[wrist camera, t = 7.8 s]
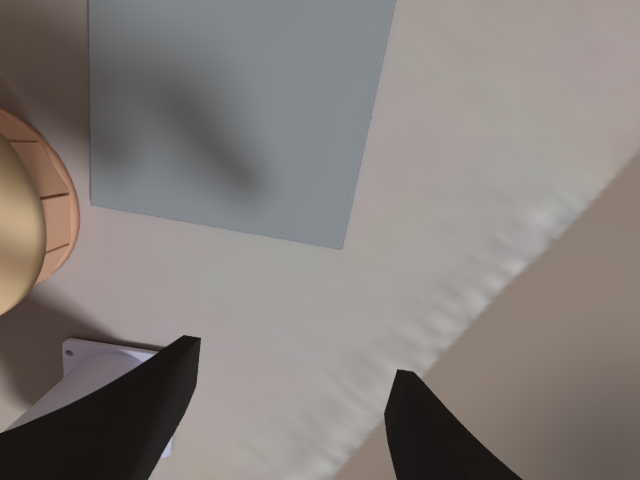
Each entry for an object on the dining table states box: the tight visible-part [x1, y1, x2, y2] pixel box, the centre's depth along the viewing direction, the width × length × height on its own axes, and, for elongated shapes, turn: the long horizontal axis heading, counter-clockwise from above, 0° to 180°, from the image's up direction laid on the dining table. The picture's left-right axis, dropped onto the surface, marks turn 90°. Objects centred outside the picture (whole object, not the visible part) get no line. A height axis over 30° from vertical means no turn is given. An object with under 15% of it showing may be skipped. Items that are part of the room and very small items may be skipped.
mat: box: [89, 0, 396, 250], centre depth 18 cm, size 16×16×1 cm
